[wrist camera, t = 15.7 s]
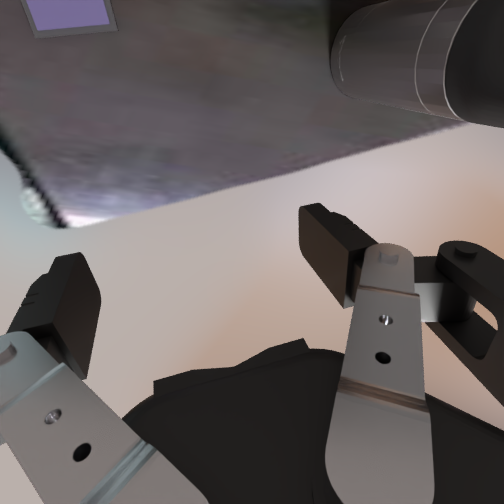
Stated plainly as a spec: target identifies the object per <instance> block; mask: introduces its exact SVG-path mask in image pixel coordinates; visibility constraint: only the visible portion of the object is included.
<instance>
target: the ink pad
mask: <svg viewBox="0 0 504 504" xmlns="http://www.w3.org/2000/svg"><path fill="white" fill-rule="evenodd" d="M21 2H22V5H23V8H24V10H25V13H26V15H27V18H28V21H29V23H30V26H31V28H32V31H33V33H34V36H35V38H38V39H40V38H51V37H61V36H71V35H82V34H92V33H102V32H113V31H118V27H117V23H116V20H115V16H114V12H113V8H112V5H111V1H110V0H21Z"/></svg>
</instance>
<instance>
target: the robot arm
mask: <svg viewBox="0 0 504 504" xmlns="http://www.w3.org/2000/svg"><path fill="white" fill-rule="evenodd" d="M331 72H332V76H333V79H334V81H335V83H336V86H337V87H338V88H339V89H340V91H341V92H343V93H344V94H345V95H346V96H349V97H351V98H355V99H359V100H364V101H369V102H373V103H378V104H383V105H388V106H393V107H398V108H402V109H407V110H412V111H417V112H422V113H427V114H432V115H437V116H441V117H447V118H452V119H457V120H462V121H467V122H471V123H476V124H483V125H488V126H493V127H500V128H504V0H391V1H386V2H382V3H378V4H373V5H369V6H366V7H363V8H360V9H359V10H357V11H356V12H354V13H353V14H351V15H350V16H349V17H348V18H347V19H346V20H345V22H344V23H343V25H342V26H341V28H340V29H339V31H338V33H337V35H336V37H335V40H334V43H333V47H332V51H331ZM299 246H300V250H301V252H302V255H303V256H304V258H305V259H306V260H307V262H308V263H309V264H310V266H311V267H312V268H313V270H314V271H315V272H316V273H317V275H318V276H319V277H320V279H321V280H322V281H323V283H324V284H325V285H326V286H327V288H328V289H329V290H330V292H331V293H332V294H333V296H334V297H335V298H336V299H337V301H338V302H339V303H340V305H341V306H342V307H343V309H344V308H348V307H352V306H354V308H353V314H352V319H351V324H350V329H349V335H348V340H347V346H346V351H345V354H343V353H340V352H336V351H332V350H326V349H309V348H308V346H307V344H306V342H305V340H304V338H302V339H298V340H295V341H291V342H288V343H284V344H281V345H277V346H274V347H270V348H268V349H266V350H264V351H262V352H260V353H259V354H257V355H255V356H253V357H251V358H249V359H248V360H246V361H244V362H242V363H240V364H239V365H236V366H234V367H228V368H212V369H197V370H190V371H187V372H183V373H180V374H176V375H173V376H169V377H166V378H162V379H159V380H156V381H153V382H154V394H153V395H151V396H150V397H148V398H146V399H145V400H143V401H142V402H140V403H139V404H138V405H137V406H135V407H134V408H133V409H131V410H130V411H129V412H128V413H127V414H126V415H125V416H124V417H123V418H122V419H121V418H120V417H118V415H117V414H116V413H115V412H114V411H113V410H112V409H111V408H109V407H108V406H107V405H106V404H105V403H104V402H103V401H102V400H101V399H100V398H99V397H98V396H97V395H96V394H95V393H94V392H93V391H92V390H91V389H90V388H89V387H88V386H87V385H86V384H85V383H84V382H83V381H82V380H84V379H86V378H87V374H88V369H89V364H90V359H91V353H92V348H93V343H94V338H95V333H96V328H97V323H98V317H99V312H100V307H101V295H100V290H99V288H98V285H97V283H96V281H95V279H94V277H93V274H92V272H91V270H90V268H89V266H88V264H87V261H86V259H85V257H84V255H83V254H82V253H81V252H78V253H73V254H68V255H63V256H58V257H56V258H55V259H54V262H53V264H52V266H51V268H50V270H49V272H48V273H47V274H43V275H41V276H40V277H39V278H38V279H37V280H36V281H35V282H34V283H33V284H32V285H31V286H30V288H29V290H28V293H27V294H26V298H24V300H23V302H22V304H21V307H20V308H19V310H18V312H17V313H16V315H15V317H14V319H13V321H12V323H11V325H10V327H9V329H8V331H7V333H6V334H4V335H2V336H0V445H2V444H4V443H7V444H8V446H9V448H10V449H11V451H12V452H13V454H14V456H15V457H16V459H17V460H18V462H19V464H20V465H21V467H22V469H23V470H24V472H25V473H26V475H27V477H28V478H29V480H30V482H31V483H32V485H33V486H34V488H35V490H36V491H37V493H38V495H39V496H40V498H41V499H42V501H43V503H44V504H504V431H503V430H501V429H499V428H497V427H495V426H493V425H491V424H489V423H487V422H485V421H482V420H480V419H478V418H476V417H474V416H472V415H470V414H468V413H466V412H464V411H462V410H460V409H458V408H456V407H454V406H452V405H450V404H448V403H445V402H443V401H441V400H439V399H437V398H435V397H433V396H431V395H429V394H427V393H425V389H424V367H423V349H422V348H423V347H422V329H421V322H425V323H426V324H427V325H428V327H429V328H430V329H431V330H432V331H433V332H434V333H435V334H436V335H437V336H438V337H439V338H440V339H441V340H442V341H443V343H444V344H445V345H446V346H447V347H448V348H449V349H450V350H451V351H452V352H453V353H454V354H455V355H456V356H457V357H458V358H459V360H460V361H461V362H462V363H463V364H464V365H465V366H466V367H467V368H468V369H469V370H470V371H471V372H472V374H473V375H474V376H475V377H476V378H477V379H478V380H479V381H480V382H481V383H482V384H483V385H484V386H485V387H486V389H488V391H489V392H490V393H491V394H492V395H493V396H494V397H495V398H496V399H497V400H498V401H499V402H500V403H501V405H503V406H504V260H503V259H502V258H500V257H498V256H497V255H495V254H494V253H492V252H491V251H489V250H487V249H486V248H484V247H482V246H480V245H477V244H474V243H471V242H466V241H448V242H445V243H443V244H441V245H440V247H439V250H438V254H437V256H423V257H413V255H412V253H411V252H410V251H409V250H408V249H406V248H404V247H402V246H399V245H395V244H390V243H380V244H379V243H377V242H376V241H375V240H374V239H373V238H371V237H370V236H369V235H368V234H367V233H365V232H364V231H363V230H362V229H360V228H359V227H358V226H357V225H356V224H353V222H352V221H350V220H349V219H348V218H347V217H346V216H343V215H341V214H338V213H335V212H330V211H329V210H327V209H326V208H325V207H324V206H323V205H322V204H320V203H314V204H310V205H305V206H301V207H300V208H299ZM476 301H478V302H479V303H480V304H482V305H483V306H484V307H485V308H487V309H488V310H489V311H490V312H491V313H492V314H493V315H494V316H495V318H496V320H497V324H498V330H495V329H494V328H493V327H492V326H491V325H490V324H488V323H487V322H486V321H485V320H483V318H481V317H480V316H479V315H478V314H477V313H476V312H474V311H473V309H474V307H475V304H476Z"/></svg>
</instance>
